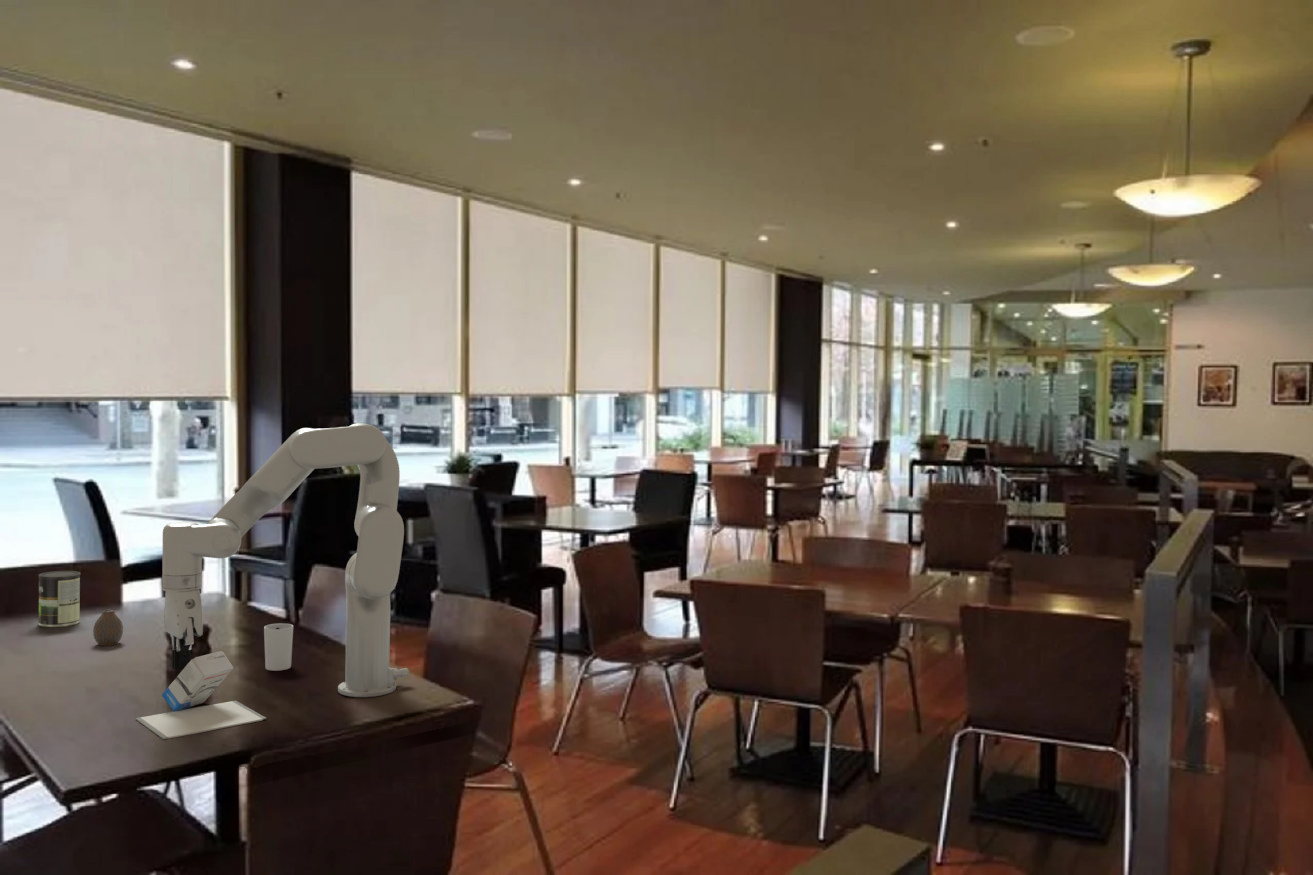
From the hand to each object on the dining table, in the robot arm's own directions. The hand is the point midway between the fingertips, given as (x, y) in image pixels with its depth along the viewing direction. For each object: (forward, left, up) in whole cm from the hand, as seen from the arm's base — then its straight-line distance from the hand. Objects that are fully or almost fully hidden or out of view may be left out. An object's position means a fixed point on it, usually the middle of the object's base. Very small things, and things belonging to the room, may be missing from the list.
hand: (181, 668), depth 222 cm
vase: (-5, -67, -8) cm, 68 cm away
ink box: (0, 0, -6) cm, 7 cm away
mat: (0, +12, -8) cm, 14 cm away
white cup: (-29, -18, -8) cm, 35 cm away
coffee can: (-2, -101, -8) cm, 102 cm away
